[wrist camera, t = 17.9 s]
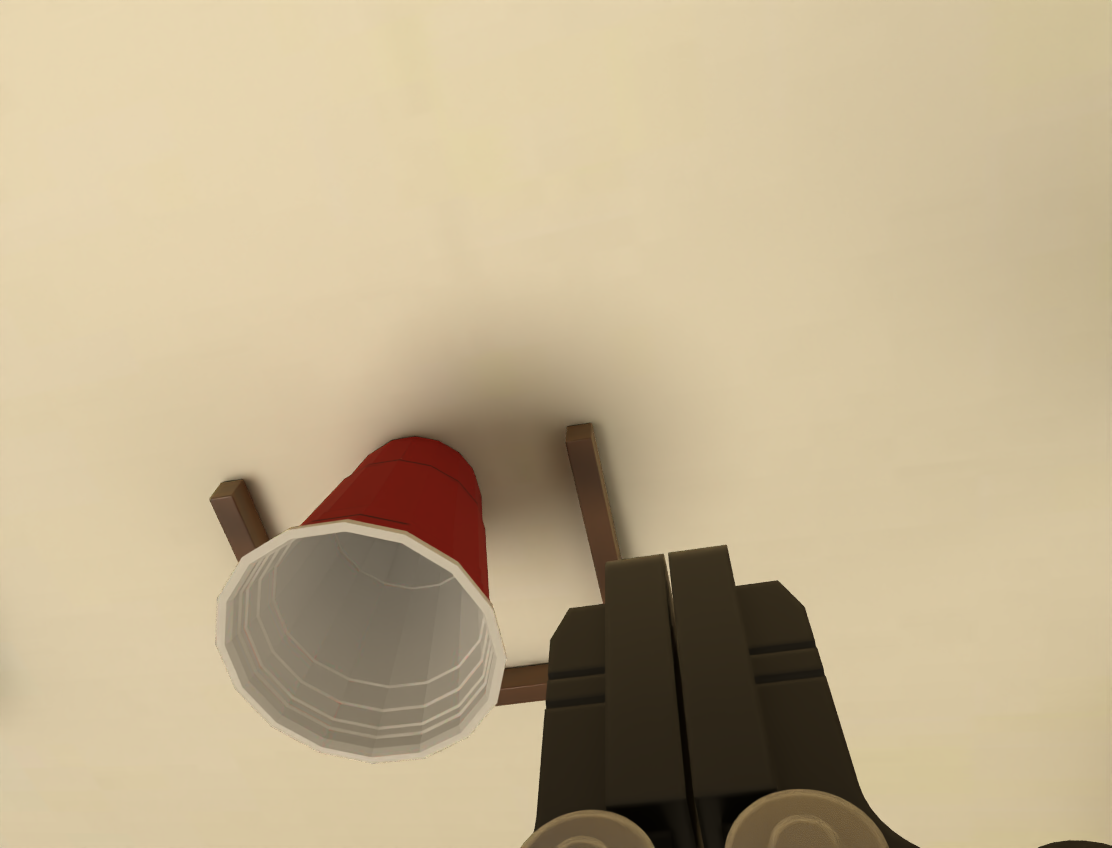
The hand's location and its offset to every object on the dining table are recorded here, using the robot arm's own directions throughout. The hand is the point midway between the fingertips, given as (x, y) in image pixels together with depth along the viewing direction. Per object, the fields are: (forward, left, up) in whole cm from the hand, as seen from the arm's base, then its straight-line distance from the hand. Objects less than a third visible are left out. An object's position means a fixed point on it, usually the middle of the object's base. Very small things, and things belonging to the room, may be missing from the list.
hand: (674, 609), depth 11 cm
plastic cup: (+18, 0, -27) cm, 33 cm away
